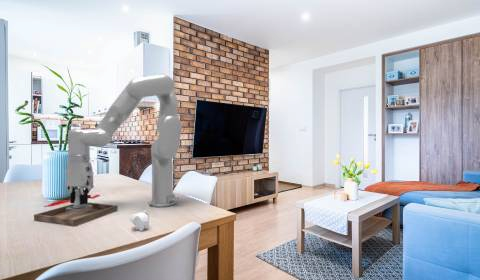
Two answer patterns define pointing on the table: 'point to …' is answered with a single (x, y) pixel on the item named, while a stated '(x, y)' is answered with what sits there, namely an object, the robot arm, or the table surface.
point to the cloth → (67, 201)
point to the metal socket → (78, 210)
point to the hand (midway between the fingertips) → (79, 202)
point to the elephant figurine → (140, 220)
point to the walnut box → (72, 220)
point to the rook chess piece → (77, 199)
